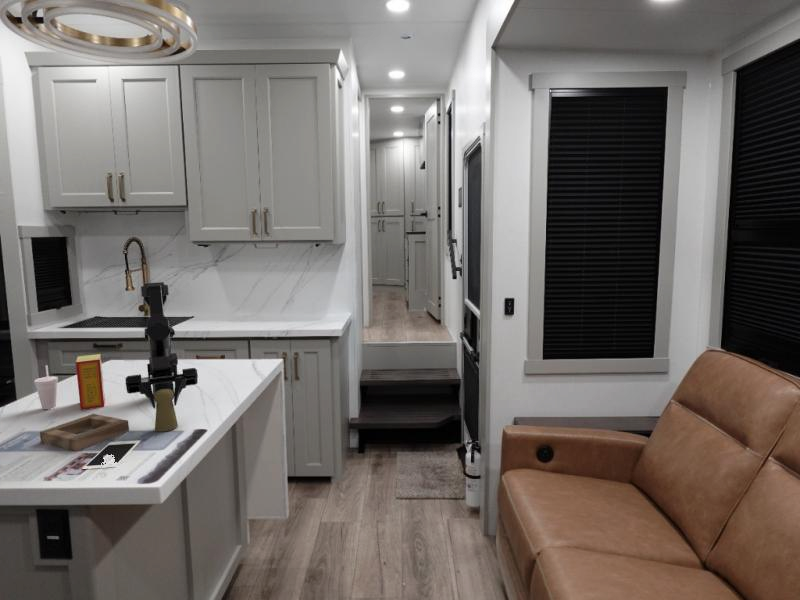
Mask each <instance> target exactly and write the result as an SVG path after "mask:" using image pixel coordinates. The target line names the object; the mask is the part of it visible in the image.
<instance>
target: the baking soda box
mask: <svg viewBox="0 0 800 600" xmlns="http://www.w3.org/2000/svg"><path fill="white" fill-rule="evenodd" d="M75 368H76V378H77V379H76V380H77V387H78V389H77V390H78V396H79V397H78V398H79V407H80V411H83V410H82V409H86V410H92V409H98V407H99V408H105V402H106V397H105V388H104V387H105V386H104V378H103V365H102V356H101V353H98V354H89V355H78V356H77V358H76V360H75ZM91 408H92V409H91Z"/></svg>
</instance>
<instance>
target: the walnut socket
mask: <svg viewBox="0 0 800 600" xmlns="http://www.w3.org/2000/svg"><path fill="white" fill-rule="evenodd" d="M89 428H90V429H92V430H89ZM94 428H95V429H94ZM86 429H87V430H88V431H87V430H86ZM83 430H85V432H84V431H83ZM81 431H82V432H83V433H82V432H81ZM78 432H79V433H80V434H78ZM127 432H130V427H129V420H127V419H123V418H122V419H121V418H116V417H113V416H112V417H111V416H108V415H107V416H106V415H102V414H97V413H91V414H88V415H86V416H82V417H79V418H77V419H74V420H73V419H72V420H70V421H67V422H65V423H62V424H58V425H55V426H52V427H51V428H47V429H43V430H40V431H39V436H40V437H39V438H40V443H41V442H42V444H45V443H46V444H45V445H49V444H50V445H49V446H53V445H54V447H57V446H58V447H57V448H61V447H62V449H65V448H66V450H69V449H70V451H73V450H74V451H73V452H79V451H81V449H82V450H84V449H87V448H88V447H91V446H94V445H97V444H100V443H102V442H104V441H107V440H109V439H112V438H115V437H117V436H119V434H120V435H122V434H125V433H127ZM75 433H76V434H75ZM116 435H117V436H116ZM114 436H115V437H114ZM111 437H112V438H111ZM106 439H107V440H106ZM101 441H102V442H101ZM86 447H87V448H86ZM83 448H84V449H83ZM78 450H79V451H78Z"/></svg>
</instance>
